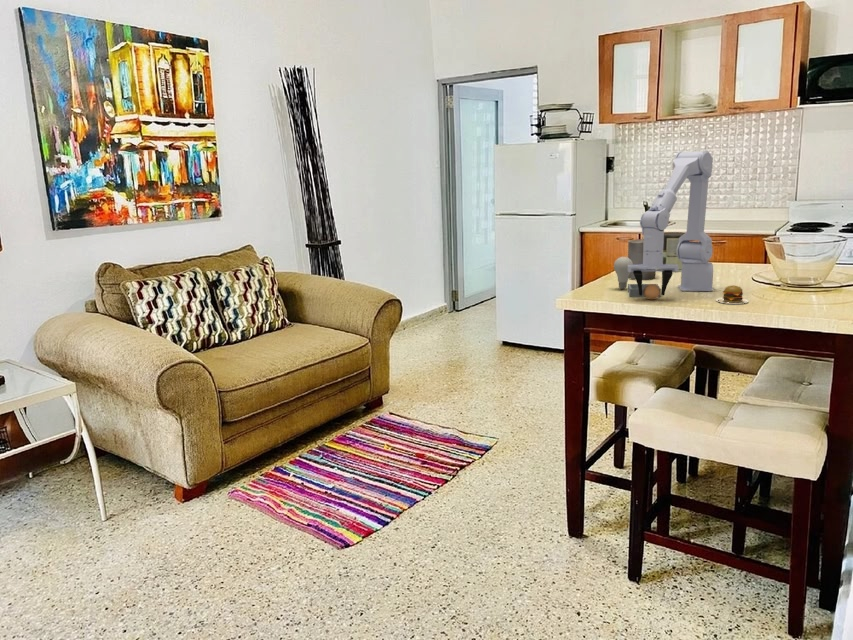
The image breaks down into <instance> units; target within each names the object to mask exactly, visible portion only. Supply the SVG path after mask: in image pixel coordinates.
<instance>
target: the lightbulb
mask: <svg viewBox="0 0 853 640" xmlns="http://www.w3.org/2000/svg"><path fill="white" fill-rule="evenodd" d="M628 265H633V263H632V261H631V260H630V259H629V258H628V256H619V257H618V258H617V259H615V261H614V263H613V269H614V272H615V274H616V276H617V281H618V288H619V289H621V290H622V289H623V290H625V289H627V288H628V281H629V278H628V276H629V274H630V272H628V271H627V270H628Z"/></svg>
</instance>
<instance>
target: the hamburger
mask: <svg viewBox="0 0 853 640" xmlns="http://www.w3.org/2000/svg"><path fill="white" fill-rule="evenodd" d="M743 294H744V291H743V289H742V287H740V286H738V285H728V286H726V287H725V288H724V289H723V296H722V297H718V298H716V299H715V301H716V302H718V303H719V302H720V304H723V303H726V302H729V303H726V304H725V305H744V303H745V304H747V303H749V300H748V299H746V298H744V297H743V296H744V295H743ZM719 299H724V300H723V301H720V300H719ZM718 300H719V301H718ZM742 300H744V301H746V302H744V301H743V302H742ZM724 301H725V302H724Z"/></svg>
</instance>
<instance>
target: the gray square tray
mask: <svg viewBox="0 0 853 640" xmlns="http://www.w3.org/2000/svg"><path fill="white" fill-rule="evenodd" d="M649 284H650V283H642V296H640V295H639V289H638V284H637V283H627V293H629V294H628V296H629V298H646V297H645V296H644V288H645V287H646V286H647V285H649ZM654 284H655V285H657V286H658V287H659V289H660V295H659V296H658V297H657V298H661V296H662V295H661V289H662V288H661V287H660V286H659V284H658V283H654Z"/></svg>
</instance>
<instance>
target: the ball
mask: <svg viewBox="0 0 853 640" xmlns="http://www.w3.org/2000/svg"><path fill="white" fill-rule="evenodd" d="M648 284H649V285H647V286H646V287H645V288H644V296H645V297H644V298H646V299H648V300H650V301H651V300H656V299H657V298H659V297H658V296H659V295H660V289H661V288H660V289H659V287H660V286H659V285H658V286H659V287H658V286H657V285H655V284H656V283H648Z"/></svg>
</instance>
